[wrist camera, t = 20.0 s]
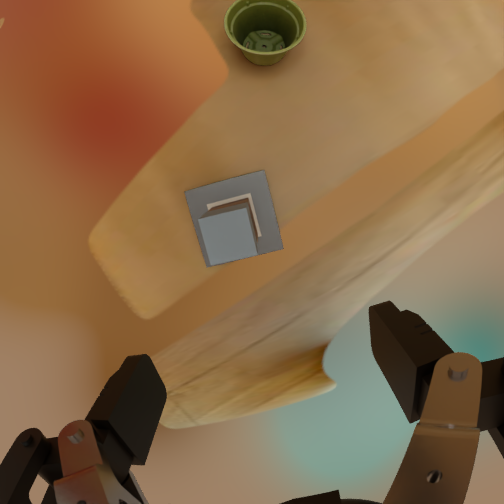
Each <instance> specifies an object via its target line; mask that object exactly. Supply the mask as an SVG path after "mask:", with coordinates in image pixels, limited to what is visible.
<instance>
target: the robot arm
mask: <svg viewBox="0 0 504 504" xmlns="http://www.w3.org/2000/svg"><path fill="white" fill-rule="evenodd" d="M369 322H370V335H371V347H372V351H373V355H374V358H375V360H376V362H377V364H378V365H379V367H380V369H381V371H382V372H383V374H384V376H385V378H386V380H387V381H388V383H389V385H390V387H391V389H392V391H393V392H394V394H395V396H396V398H397V400H398V402H399V404H400V406H401V408H402V409H403V411H404V413H405V415H406V417H407V419H408V421H409V423H413V422H415V421H417V420H420V421H419V423H417V425H416V427H415V430H414V433H413V436H412V438H411V441H410V443H409V446H408V449H407V451H406V454H405V456H404V459H403V461H402V463H401V466H400V468H399V471H398V473H397V475H396V477H395V479H394V481H393V484H392V486H391V488H390V490H389V492H388V494H387V496H386V498H385V500H384V502H383V504H463V503H464V500H465V497H466V493H467V490H468V486H469V483H470V479H471V474H472V470H473V466H474V462H475V457H476V453H477V447H478V442H479V435H480V432H481V431H485V430H488V432H489V433H490V435H491V437H492V438H493V440H494V442H495V444H496V445H497V447H498V449H499V451H500V452H501V454H502V456H503V458H504V357H503V358H499V359H495V360H490V361H486V362H480V361H479V360H478V359H477V358H476V357H475V356H473V355H470V354H468V353H461V352H460V353H459V352H457V353H454V352H453V350H452V349H451V348H450V347H449V346H448V345H447V344H446V343H445V342H444V341H443V340H442V339H441V338H440V337H439V336H438V334H437V333H436V332H435V331H433V330H432V328H431V327H430V326H429V325H428V324H426V322H425V321H424V320H423V319H422V318H421V317H420V316H419V315H418V314H416V313H413V312H411V311H409V310H404V311H401V312H400V311H399V309H398V308H397V307H396V306H395V305H394V304H393V303H392V302H391V301H387V302H383V303H380V304H376V305H373V306H370V307H369ZM166 398H167V393H166V388H165V385H164V383H163V382H162V380H161V378H160V376H159V374H158V372H157V370H156V368H155V366H154V364H153V362H152V360H151V358H150V357H149V356H148V355H147V354H142V355H133V356H128V357H127V358H126V359H125V361H124V362H123V364H122V365H121V367H120V369H119V370H118V371H117V372H116V373H115V374H113V375H112V376H111V377H110V378H109V380H108V382H107V383H106V385H105V386H104V389H103V390H102V391H101V393H100V396H98V398H97V400H96V401H95V403H94V405H93V407H92V408H91V410H90V411H89V413H88V415H87V417H86V418H85V420H77V421H73V422H71V423H69V424H67V425H66V426H65V427H64V428H63V429H62V430H61V432H60V433H59V436H58V437H54V438H46V437H45V436H44V435H43V434H42V432H41V431H40V430H39V429H37V428H30V429H27V430H25V431H23V432H22V433H21V434H20V435H19V436H18V437H17V438H16V440H15V441H14V443H13V445H12V446H11V448H10V449H9V451H8V453H7V454H6V456H5V458H4V459H3V461H2V463H1V465H0V504H32V503H31V501H30V499H29V491H30V489H31V487H32V485H33V483H34V481H35V479H36V476H37V474H39V475H40V476H41V477H42V478H43V479H44V480H45V481H46V482H47V483H48V484H49V487H48V489H47V491H46V493H45V496H44V498H43V501H42V503H41V504H149V503H148V501H147V500H146V498H145V496H144V494H143V492H142V490H141V489H140V487H139V484H138V483H137V480H136V479H135V476H134V474H133V473H132V472H131V471H130V470H129V469H130V466H131V465H145V462H146V459H147V456H148V453H149V450H150V447H151V444H152V441H153V438H154V435H155V432H156V429H157V426H158V423H159V420H160V417H161V414H162V411H163V408H164V405H165V402H166ZM281 504H382V503H378V502H374V501H369V500H362V499H340V495H339V490H335V491H331V492H327V493H322V494H317V495H312V496H307V497H301V498H296V499H292V500H289V501H286V502H284V503H281Z"/></svg>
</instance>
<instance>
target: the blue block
mask: <svg viewBox="0 0 504 504" xmlns="http://www.w3.org/2000/svg"><path fill="white" fill-rule="evenodd" d="M198 221H199V225H200V229H201V232H202V236H203V239H204V243H205V247H206V250H207V254H208V257H209V261H210V264H211V265H215V264H220V263H225V262H229V261H234V260H238V259H243V258H247V257H252V256H256V255H258V249H257V240H256V235H255V231H254V227H253V223H252V219H251V214H250V210H249V206H248V202H246V203H242V204H237V205H233V206H229V207H225V208H221V209H217V210H212V211H208V212H206V213H204V214H203V215H202V216H201V217H200V218H199V219H198Z"/></svg>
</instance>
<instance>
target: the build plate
mask: <svg viewBox="0 0 504 504" xmlns="http://www.w3.org/2000/svg"><path fill="white" fill-rule="evenodd" d="M185 196H186V200H187V203H188V206H189V210H190V213H191V217H192V220H193V224H194V227H195V230H196V234H197V237H198V240H199V244H200V247H201V250H202V253H203V257H204V260H205V263H206V266H207V267H211V266H215V265H220V264H224V263H220V264H215V265H211V264H210V261H209V257H208V254H207V250H206V247H205V243H204V239H203V236H202V232H201V229H200V225H199V221H198V219H199V218H200V217H201V216H202V215H203V214H204V213H206V212H207V211H208V210H209V209H211V208H212V207H214V206H218V205H222V204H225V203H229V202H233V201H236V200H240V199H244V198H249V202H250V206H251V210H252V213H253V217H254V221H255V225H256V228H257V232H258V243H257V249H258V255H260V254H265V253H269V252H272V251H277V250H281V249H283V244H282V240H281V236H280V231H279V227H278V223H277V219H276V215H275V211H274V207H273V203H272V199H271V195H270V191H269V187H268V183H267V179H266V175H265V171H264V170H262V171H258V172H254V173H250V174H246V175H242V176H238V177H235V178H231V179H227V180H223V181H220V182H216V183H213V184H209V185H205V186H202V187H198V188H195V189H192V190H188V191H185ZM247 258H248V257H247ZM243 259H244V258H243ZM238 260H240V259H238ZM234 261H236V260H234ZM229 262H232V261H229ZM225 263H228V262H225Z"/></svg>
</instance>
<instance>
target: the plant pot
mask: <svg viewBox="0 0 504 504" xmlns="http://www.w3.org/2000/svg"><path fill="white" fill-rule="evenodd" d="M224 27H225V31H226V34H227V36H228V37H229V39H230V40H231V41H232V43H234V44H235V45H236V46H237V47H239V48H240V49H241V50H242V52H243V54H244V56H245V57H246V58H247V59H248V60H249V61H251V62H252V63H254V64H257V65H272V64H274V63H276V62H278V61H280V60H281V59H282V58H283V57H284V55H285V54H286V52H287V51H288V50H290V49H292V48H294V47H295V46H296V45H297V44H299V42H300V41H301V40H302V38H303V37H304V35H305V32H306V18H305V16H304V13H303V12H302V10H301V9H300V7H299V6H298V5H297V4H296V3H294V2H293V1H292V0H237V1H235V2H234V3H233V4H232V5H231V6H230V7H229V8H228V10H227V12H226V14H225V18H224ZM261 33H269V34H271V35H270V36H269V35H261ZM247 42H249V46H248V49H247V48H246V43H247ZM263 45H266V48H263V47H262V46H263ZM280 45H281V46H282V50H280Z"/></svg>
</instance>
